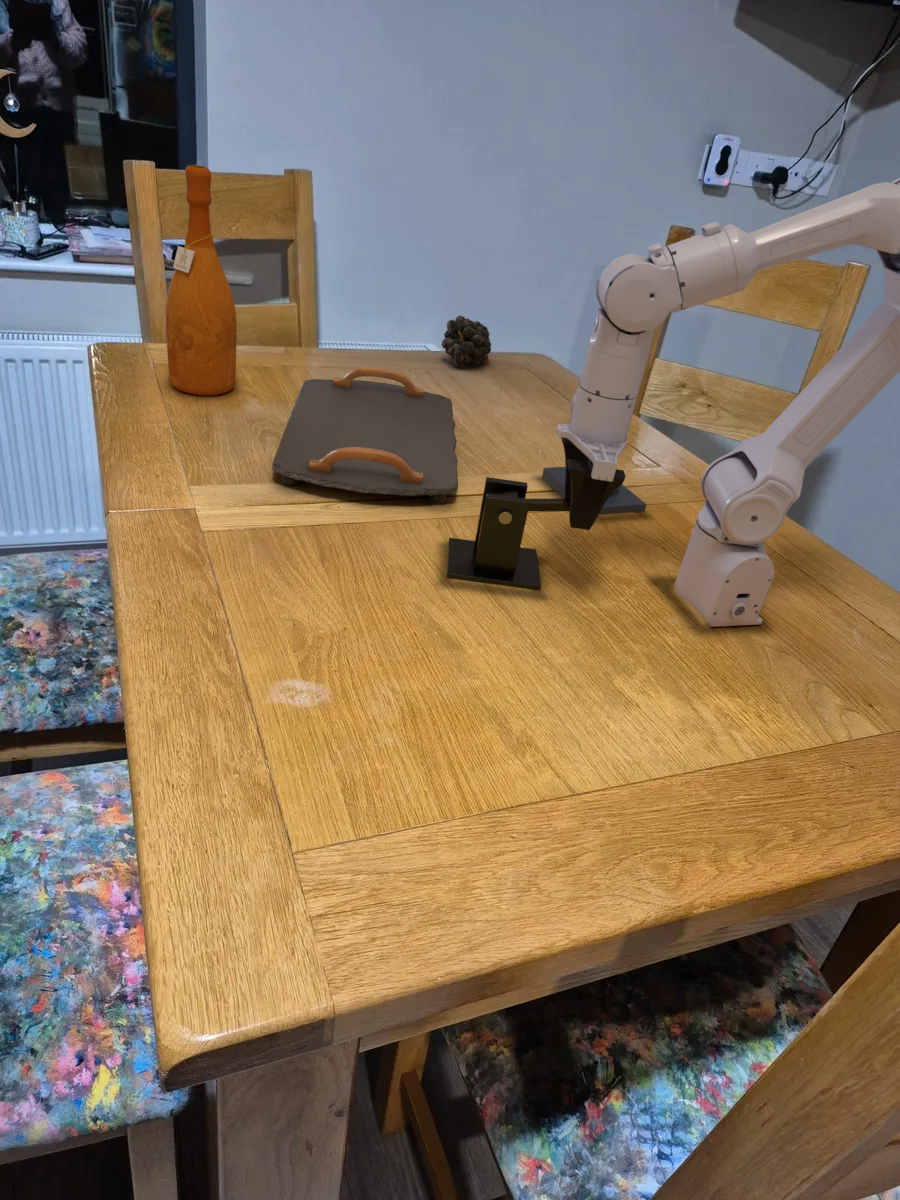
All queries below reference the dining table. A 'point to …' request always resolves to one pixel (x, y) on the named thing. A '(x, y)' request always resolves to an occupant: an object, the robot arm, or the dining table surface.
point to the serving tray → (370, 437)
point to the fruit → (466, 341)
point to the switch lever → (541, 502)
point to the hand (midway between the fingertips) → (576, 514)
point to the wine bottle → (200, 303)
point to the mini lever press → (497, 542)
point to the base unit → (616, 503)
